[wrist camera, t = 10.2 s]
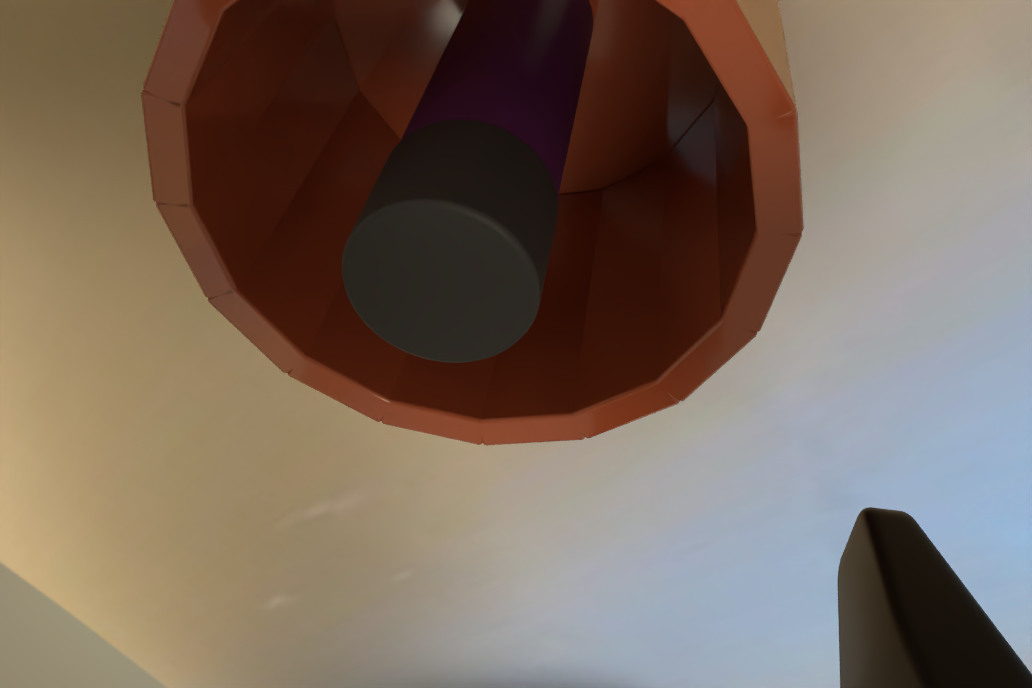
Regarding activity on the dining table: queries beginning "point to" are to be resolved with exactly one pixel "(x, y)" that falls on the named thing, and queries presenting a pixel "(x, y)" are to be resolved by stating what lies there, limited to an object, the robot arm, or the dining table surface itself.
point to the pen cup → (581, 201)
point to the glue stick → (473, 186)
